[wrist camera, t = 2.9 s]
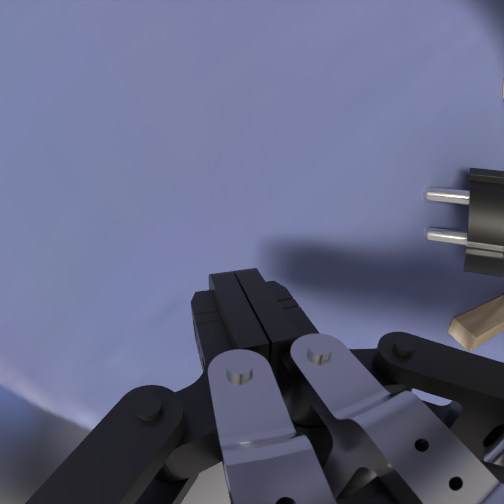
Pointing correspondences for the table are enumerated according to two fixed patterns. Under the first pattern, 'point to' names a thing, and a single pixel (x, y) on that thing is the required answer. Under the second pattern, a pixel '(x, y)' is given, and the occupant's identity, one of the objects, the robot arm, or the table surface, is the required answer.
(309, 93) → the table surface
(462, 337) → the bracket
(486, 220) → the power plug
